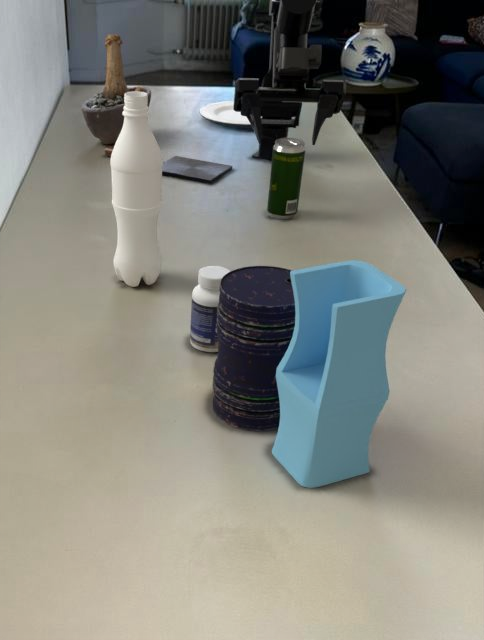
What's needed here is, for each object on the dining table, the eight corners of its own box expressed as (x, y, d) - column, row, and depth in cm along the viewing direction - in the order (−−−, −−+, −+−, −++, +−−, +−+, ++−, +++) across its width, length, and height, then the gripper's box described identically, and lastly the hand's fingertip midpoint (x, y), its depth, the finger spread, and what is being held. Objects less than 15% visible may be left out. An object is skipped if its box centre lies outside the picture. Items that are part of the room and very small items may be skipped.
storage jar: (235, 439, 83) (246, 314, 74) (196, 394, 90) (202, 274, 80) (312, 419, 86) (333, 296, 77) (269, 377, 93) (284, 259, 83)
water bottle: (168, 273, 116) (171, 90, 99) (152, 293, 110) (152, 103, 94) (124, 266, 117) (119, 85, 101) (106, 285, 112) (99, 98, 96)
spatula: (232, 170, 153) (233, 159, 152) (210, 184, 146) (211, 173, 145) (119, 149, 162) (119, 139, 161) (94, 162, 156) (94, 152, 155)
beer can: (303, 215, 134) (312, 142, 126) (282, 222, 132) (290, 148, 124) (281, 207, 137) (289, 135, 130) (260, 213, 135) (267, 141, 127)
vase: (266, 448, 82) (289, 270, 69) (328, 431, 85) (361, 257, 71) (304, 490, 77) (337, 307, 64) (369, 472, 79) (413, 291, 66)
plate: (291, 133, 173) (292, 123, 172) (200, 131, 173) (200, 122, 172) (281, 109, 189) (282, 100, 187) (198, 108, 189) (198, 99, 188)
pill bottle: (218, 357, 97) (223, 285, 90) (182, 346, 99) (184, 274, 92) (238, 340, 100) (244, 269, 94) (202, 329, 102) (206, 259, 96)
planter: (151, 129, 174) (150, 27, 161) (153, 151, 162) (153, 42, 149) (86, 129, 174) (80, 27, 161) (83, 151, 161) (77, 42, 148)
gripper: (239, 22, 124) (236, 114, 123) (354, 24, 123) (352, 116, 122) (234, 67, 135) (231, 151, 134) (340, 69, 134) (338, 154, 133)
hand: (287, 143), depth 131 cm, fingers open, 9 cm apart
